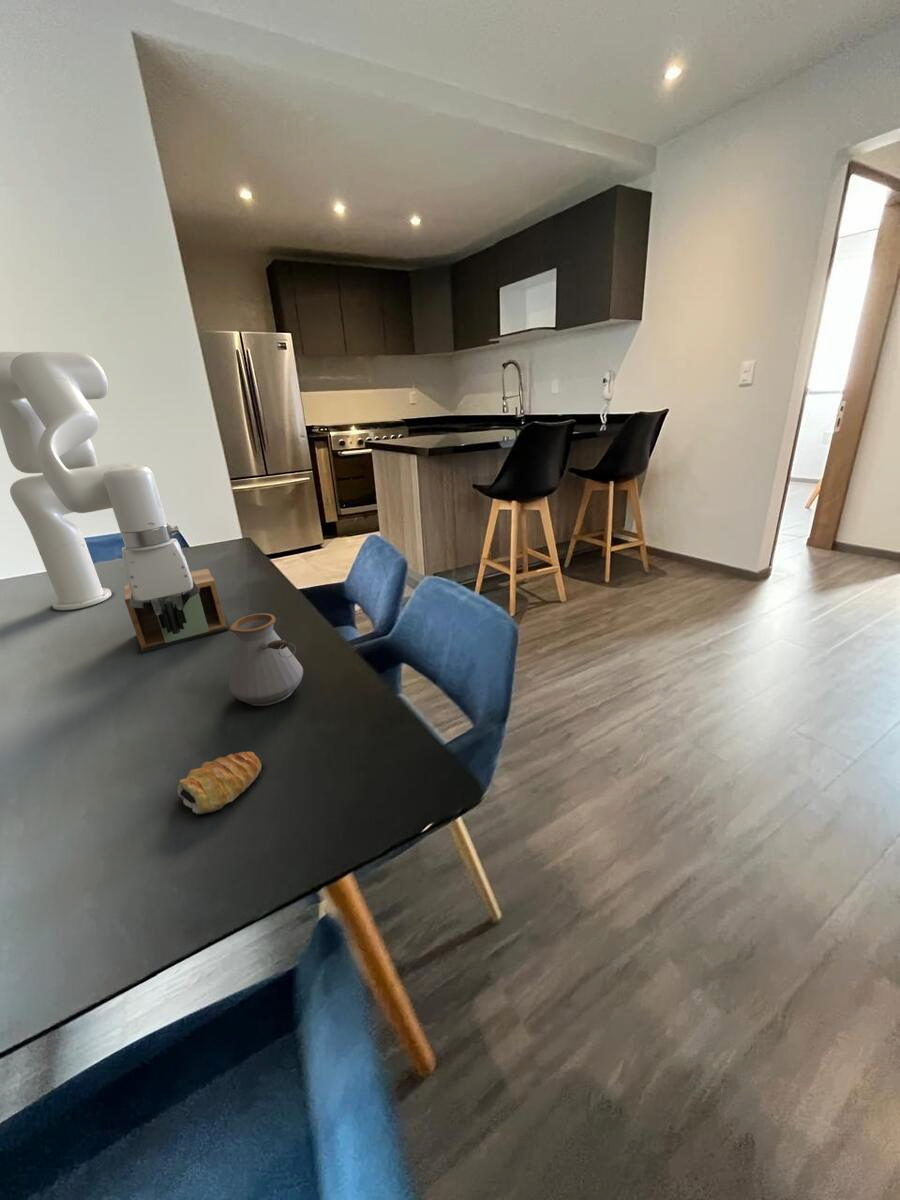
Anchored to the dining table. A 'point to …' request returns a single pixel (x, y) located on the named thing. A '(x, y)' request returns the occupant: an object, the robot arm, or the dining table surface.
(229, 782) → the pastry
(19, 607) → the dining table surface
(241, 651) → the coffee pot
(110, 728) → the dining table surface
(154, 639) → the cabinet
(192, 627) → the sliding door
